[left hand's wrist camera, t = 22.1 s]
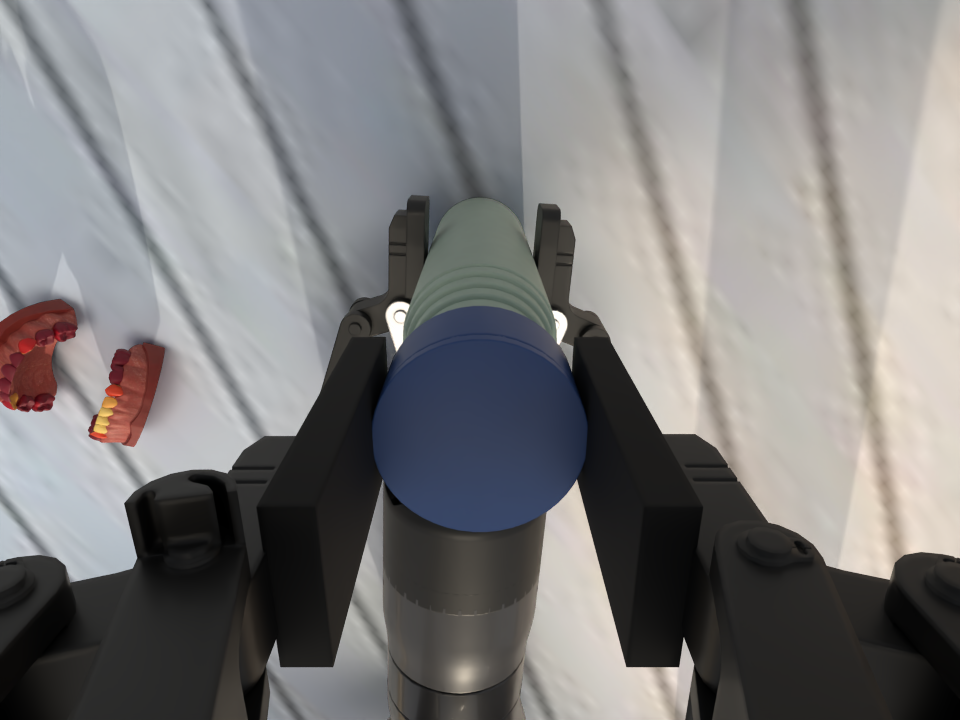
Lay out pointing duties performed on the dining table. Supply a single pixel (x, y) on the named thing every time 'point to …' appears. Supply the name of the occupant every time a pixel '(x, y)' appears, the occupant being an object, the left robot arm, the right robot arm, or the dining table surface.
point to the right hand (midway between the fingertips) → (483, 204)
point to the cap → (479, 421)
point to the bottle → (479, 267)
